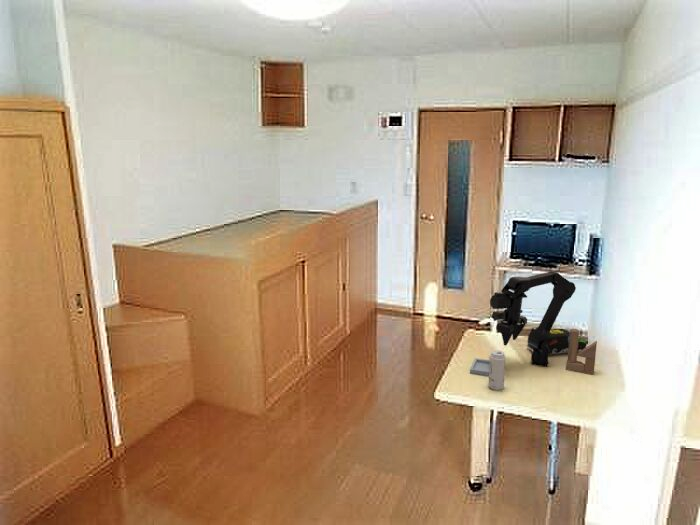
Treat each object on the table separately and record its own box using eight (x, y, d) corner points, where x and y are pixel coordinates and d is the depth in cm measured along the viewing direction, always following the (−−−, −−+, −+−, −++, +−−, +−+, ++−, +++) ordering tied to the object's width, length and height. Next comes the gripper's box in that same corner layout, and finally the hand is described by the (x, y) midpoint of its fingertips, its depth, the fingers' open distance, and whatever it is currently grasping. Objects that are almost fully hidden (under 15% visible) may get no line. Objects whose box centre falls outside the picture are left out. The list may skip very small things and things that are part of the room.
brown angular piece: (593, 375, 215) (597, 334, 211) (565, 369, 221) (569, 330, 216) (594, 371, 218) (598, 331, 214) (566, 366, 224) (570, 327, 219)
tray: (502, 366, 225) (502, 362, 225) (498, 378, 214) (499, 373, 214) (474, 362, 230) (474, 358, 229) (469, 373, 219) (470, 369, 218)
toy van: (587, 354, 236) (589, 333, 234) (537, 358, 233) (538, 337, 230) (573, 345, 246) (575, 325, 244) (525, 349, 243) (526, 329, 240)
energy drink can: (486, 384, 209) (488, 350, 206) (501, 383, 209) (503, 349, 206) (490, 391, 203) (492, 356, 200) (505, 391, 203) (507, 355, 200)
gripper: (505, 299, 228) (501, 332, 231) (486, 307, 214) (482, 342, 217) (529, 304, 221) (525, 339, 224) (512, 313, 207) (507, 350, 210)
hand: (509, 342), depth 219 cm, fingers open, 9 cm apart
